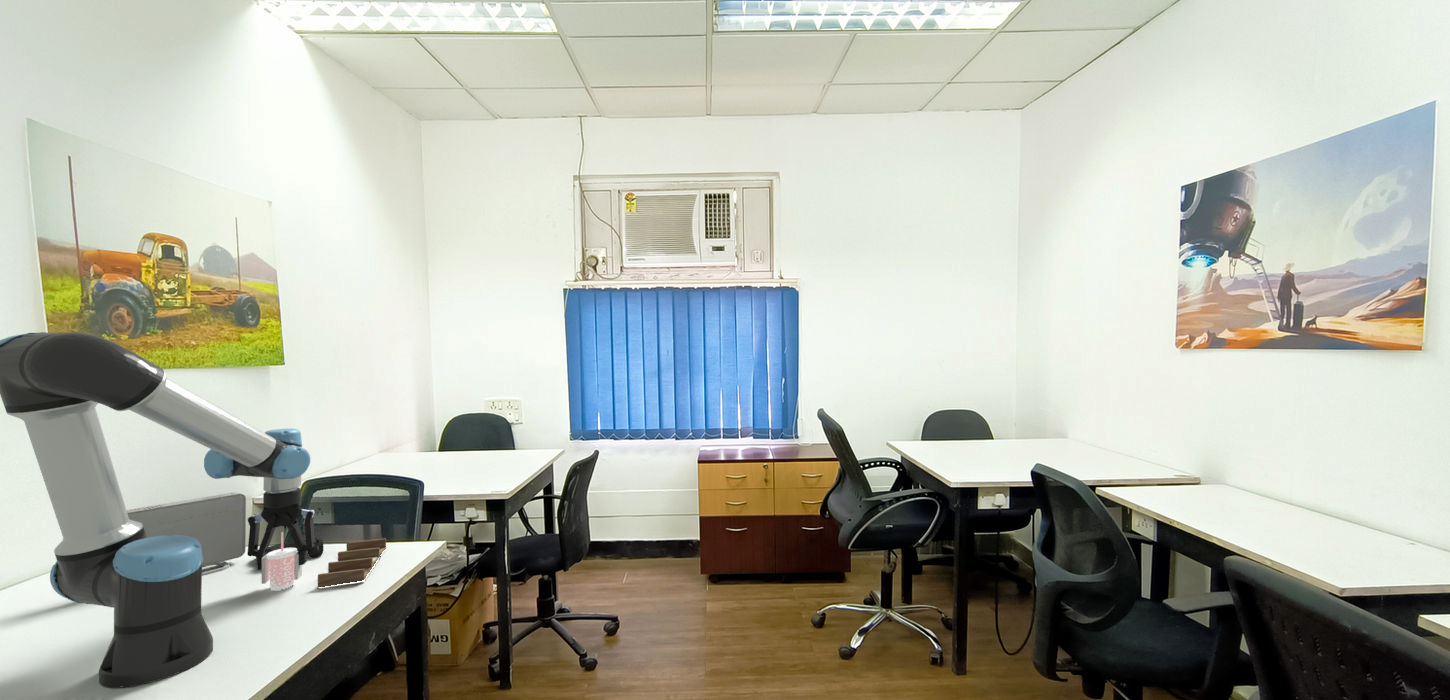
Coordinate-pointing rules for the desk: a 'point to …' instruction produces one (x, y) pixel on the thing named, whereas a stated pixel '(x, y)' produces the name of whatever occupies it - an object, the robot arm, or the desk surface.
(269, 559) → the beverage cup
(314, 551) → the headset
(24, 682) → the desk surface
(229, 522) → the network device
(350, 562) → the slot rack
